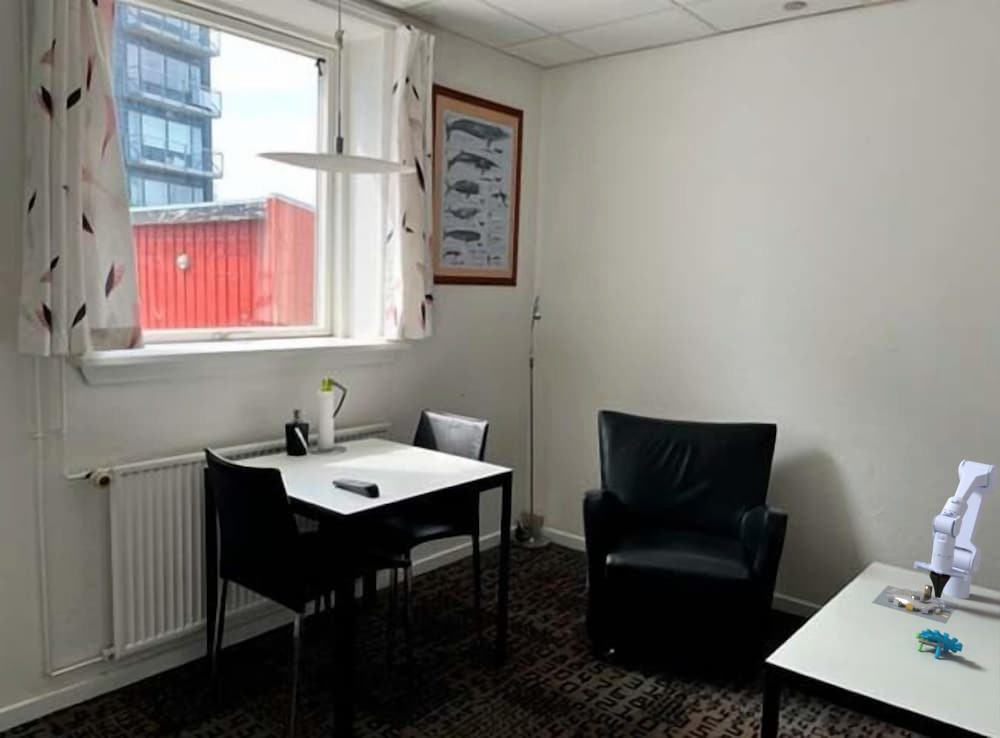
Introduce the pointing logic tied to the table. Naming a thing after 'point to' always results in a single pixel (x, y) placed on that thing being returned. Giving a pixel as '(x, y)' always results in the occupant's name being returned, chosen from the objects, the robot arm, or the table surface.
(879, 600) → the base plate
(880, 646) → the table surface
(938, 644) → the blue toy dinosaur
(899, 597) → the sprocket
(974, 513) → the robot arm
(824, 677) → the table surface
